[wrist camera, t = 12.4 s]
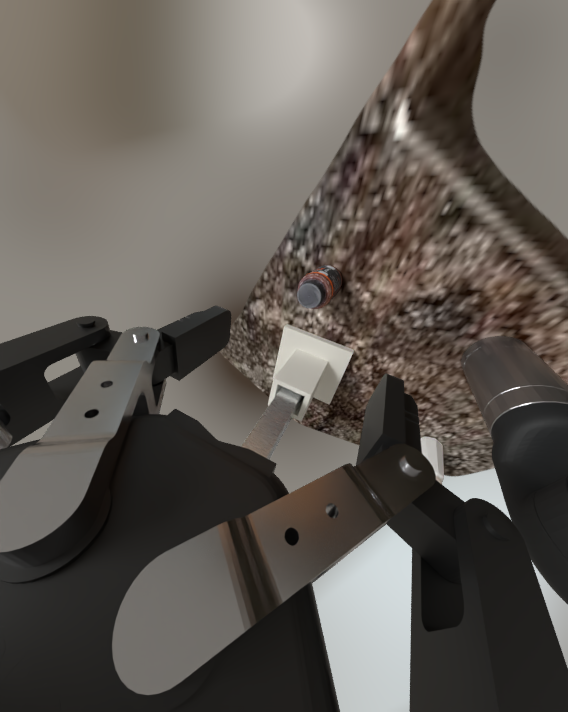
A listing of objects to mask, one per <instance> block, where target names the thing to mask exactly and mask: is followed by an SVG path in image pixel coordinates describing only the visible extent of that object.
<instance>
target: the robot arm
mask: <svg viewBox="0 0 568 712" xmlns="http://www.w3.org/2000/svg"><path fill="white" fill-rule="evenodd" d="M230 326H231V312H230V311H229V310H226V309H224V308H221V307H219V306H214V307H212V308H210V309H207V310H205V311H201V312H196V313H193V314H191V315H188V316H187V317H184V318H182V319H180V321H179V320H177V321H175V322H173V323H171V324H169V325H167V326H164V327H162V328H160V329H158V330H156V329H153V328H149V327H136V328H131V329H128V330H126V331H125V332H123V333H122V332H117V331H112V330H110V329H109V325H108V322H107V320H106V319H104V318H101V317H96V316H85V317H79V318H75V319H72V320H69V321H66V322H63V323H60V324H57V325H54V326H51V327H48V328H45V329H42V330H40V331H36V332H33V333H31V334H28V335H25V336H22V337H19V338H16V339H13V340H10V341H7V342H4V343H1V344H0V712H340V709H339V705H338V700H337V696H336V691H335V687H334V682H333V677H332V673H331V668H330V664H329V659H328V655H327V650H326V646H325V641H324V636H323V632H322V628H321V623H320V618H319V614H318V609H317V604H316V600H315V595H314V591H313V586H312V583H313V582H314V581H316V580H317V579H318V578H319V577H321V576H322V575H323V574H324V573H326V572H327V571H328V570H329V569H331V568H332V567H333V566H335V565H336V564H337V563H338V562H339V561H341V560H342V559H343V558H344V557H345V556H347V555H348V554H349V553H350V552H352V551H353V550H354V549H356V548H357V547H358V546H359V545H361V544H362V543H363V542H364V541H366V540H367V539H368V538H369V537H371V536H372V535H373V534H374V533H376V532H377V531H378V530H379V529H381V528H382V527H383V526H385V525H386V524H387V525H388V526H389V527H390V528H391V529H392V530H394V531H395V532H396V533H397V534H398V535H399V536H400V537H401V538H402V539H403V540H404V541H405V542H406V543H407V544H408V545H410V546H411V547H412V597H411V598H412V599H411V600H412V601H411V602H412V603H411V660H410V661H411V662H410V712H568V668H567V665H566V662H565V659H564V657H563V653H562V651H561V648H560V645H559V642H558V639H557V636H556V633H555V630H554V627H553V624H552V621H551V618H550V615H549V612H548V609H547V606H546V603H545V600H544V597H543V594H542V591H541V588H540V585H539V583H538V579H537V576H536V573H535V570H534V567H533V564H532V562H533V563H534V565H535V566H536V568H537V569H538V571H539V572H540V573H541V575H542V576H543V577H544V579H545V580H546V581H547V583H548V584H549V585H550V586H551V587H552V589H553V590H554V591H555V592H556V593H557V594H558V595H559V596H560V597H561V598H562V599H563V600H564V601H565V602H566V603H567V604H568V385H567V384H566V383H565V382H564V381H563V380H562V379H561V378H560V377H559V376H558V375H557V374H556V373H555V372H554V371H553V370H552V369H551V368H550V367H549V366H548V365H547V364H546V363H545V362H544V361H543V360H542V359H541V358H540V357H539V356H537V355H536V354H535V353H534V352H533V351H532V350H531V349H530V348H529V347H528V346H527V345H526V344H525V343H524V342H522V341H520V340H518V339H515V338H512V337H506V336H495V337H489V338H485V339H482V340H480V341H478V342H476V343H474V344H473V345H471V346H470V347H469V348H468V349H467V350H466V351H465V353H464V354H463V356H462V360H461V365H462V368H463V371H464V373H465V376H466V378H467V381H468V383H469V385H470V388H471V390H472V392H473V395H474V397H475V399H476V402H477V404H478V407H479V409H480V411H481V414H482V416H483V418H484V421H485V423H486V425H487V427H488V430H489V432H490V435H491V437H492V439H493V442H494V444H493V448H492V459H493V463H494V466H495V469H496V473H497V476H498V479H499V482H500V486H501V489H502V492H503V496H504V499H505V502H506V506H507V509H508V511H509V515H510V517H511V520H512V521H511V520H510V519H509V518H508V517H507V516H506V515H505V514H504V513H503V512H501V510H499V509H498V508H497V507H495V506H494V505H492V504H491V503H489V502H487V501H485V500H482V499H478V498H472V499H469V500H468V501H466V502H464V501H463V500H461V499H460V498H459V497H457V496H456V495H454V494H453V493H452V492H451V491H449V490H448V489H447V488H445V487H444V486H443V485H442V484H440V483H439V482H438V481H437V480H436V475H435V471H434V469H433V466H432V465H431V463H430V462H429V460H428V459H427V458H426V457H425V456H424V455H423V454H422V448H421V438H420V427H419V417H418V407H417V404H416V403H415V401H414V399H413V398H412V396H410V395H408V394H406V393H404V381H403V380H401V379H399V378H396V377H394V376H391V375H389V374H385V375H384V376H383V378H382V379H381V381H380V383H379V384H378V386H377V388H376V389H375V391H374V393H373V394H372V396H371V398H370V400H369V402H368V404H367V407H366V411H365V417H364V423H363V428H362V434H361V440H360V446H359V452H358V457H357V463H356V466H354V467H353V466H352V464H350V463H349V464H345V465H343V466H341V467H339V468H337V469H335V470H333V471H332V472H330V473H328V474H326V475H324V476H322V477H320V478H318V479H316V480H314V481H312V482H310V483H309V484H307V485H305V486H303V487H301V488H299V489H297V490H295V491H293V492H291V493H290V494H289V493H288V491H287V489H286V488H285V486H284V484H283V483H282V482H281V481H280V479H279V478H278V477H277V476H276V475H275V474H274V470H275V467H276V463H274V462H272V461H270V460H269V459H267V458H265V457H263V456H261V455H260V454H258V453H256V452H254V451H252V450H250V449H248V448H244V447H240V446H236V445H232V444H228V443H224V442H221V441H218V440H217V439H215V438H214V437H213V436H212V435H211V434H210V433H209V432H208V431H207V430H206V429H205V428H204V427H203V426H202V424H200V423H199V422H198V421H197V420H195V419H193V418H191V417H190V416H188V415H186V414H184V413H182V412H181V411H179V410H177V409H174V410H173V411H172V412H171V413H170V414H168V415H161V414H159V413H160V408H161V403H162V400H163V396H164V391H165V387H166V378H167V377H169V376H171V377H173V378H175V379H177V380H179V381H180V380H181V379H182V378H184V377H185V376H186V375H187V374H189V373H190V372H191V371H193V370H194V369H195V368H197V367H199V366H200V365H201V364H203V363H204V362H205V361H207V360H208V359H209V358H211V357H212V356H213V355H215V354H216V353H217V352H219V351H220V350H222V349H223V348H224V347H225V346H226V345H227V343H228V341H229V338H230ZM75 353H76V356H77V358H78V361H79V363H80V367H78V368H76V369H74V370H72V371H70V372H68V373H66V374H64V375H62V376H60V377H58V378H56V379H54V380H52V381H50V382H47V381H46V379H45V377H44V372H45V370H46V368H47V367H48V366H49V365H51V364H53V363H55V362H57V361H60V360H62V359H64V358H66V357H68V356H71V355H73V354H75ZM53 419H54V420H53ZM52 420H53V422H52V423H51V425H50V426H49V428H48V429H47V431H46V432H45V434H44V435H43V437H42V438H41V439H39V440H36V441H31V442H27V443H23V444H19V445H15V446H12V445H13V444H15V443H17V442H18V441H20V440H21V439H22V438H24V437H26V436H28V435H29V434H31V433H32V432H34V431H36V430H37V429H39V428H40V427H42V426H44V425H45V424H47V423H48V422H50V421H52ZM10 446H11V447H10ZM531 560H532V562H531Z"/></svg>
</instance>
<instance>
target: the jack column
mask: <svg viewBox="0 0 568 712" xmlns="http://www.w3.org/2000/svg"><path fill="white" fill-rule="evenodd" d="M302 398H303V396H302V395H300V394H298V393H296V392H294V391H291V390H289V389H287V388H285V387H283V386H282V388H281V389H280V391H279V392H278V394H277V395H276V396H275V398H274V399H273V401H272V402H271V404H270V405H269V407H268V408H267V409H266V411H265V412H264V414H263V415H262V417H261V418H260V419H259V421H258V422H257V424H256V425H255V427H254V428H253V430H252V431H251V433H250V434H249V435H248V437H247V438H246V440H245V441H244V442H243V444H242V445H241V447H244V448H248V449H250V450H252V451H254V452H256V453H258V454H260V455H261V456H263V457H265V458H267V459H270V457H271V456H272V453H273V452H274V450H275V448H276V446H277V444H278V443H279V441H280V439H281V437H282V435H283V433H284V431H285V429H286V428H287V426H288V424H289V422H290V420H291V419H292V417H293V415H294V413H295V411H296V409H297V407H298V405H299V404H300V402H301V400H302Z"/></svg>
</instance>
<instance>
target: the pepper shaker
mask: <svg viewBox="0 0 568 712" xmlns="http://www.w3.org/2000/svg"><path fill="white" fill-rule="evenodd" d="M421 448H422V454H423V455H424V456H425V457H426V458H427V459H428V460H429V462H430V463H431V465H432V466H433V469H434V471H435V475H436V480H437V481H438V482H439V483H440V484H442V482H443V478H444V466H443V444H441V443H440V442H439V441H438V440H437V439H436V438H431V437H422V438H421Z"/></svg>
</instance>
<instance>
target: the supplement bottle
mask: <svg viewBox="0 0 568 712" xmlns="http://www.w3.org/2000/svg"><path fill="white" fill-rule="evenodd" d="M341 285H342V277H341V274H340V272H339V270H338V269H337V268H335V267H333V266H330V265H324V266H321V267H319V268H317V269H315V270H314V271H312V272H310V273H309V274H307V275H306V276H304V277H303V278H302V279H301V281H300V283H299V285H298V293H297V297H298V301H299V302H300V304H301V305H302V306H304V307H306V308H312V309H319V308H322V307H324V306H325V305H327V304H328V303H329V301H330V300H331V299H332V298H333V297H334V296H335V295H336V293H337V292H338V291H339V289H340V287H341Z"/></svg>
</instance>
